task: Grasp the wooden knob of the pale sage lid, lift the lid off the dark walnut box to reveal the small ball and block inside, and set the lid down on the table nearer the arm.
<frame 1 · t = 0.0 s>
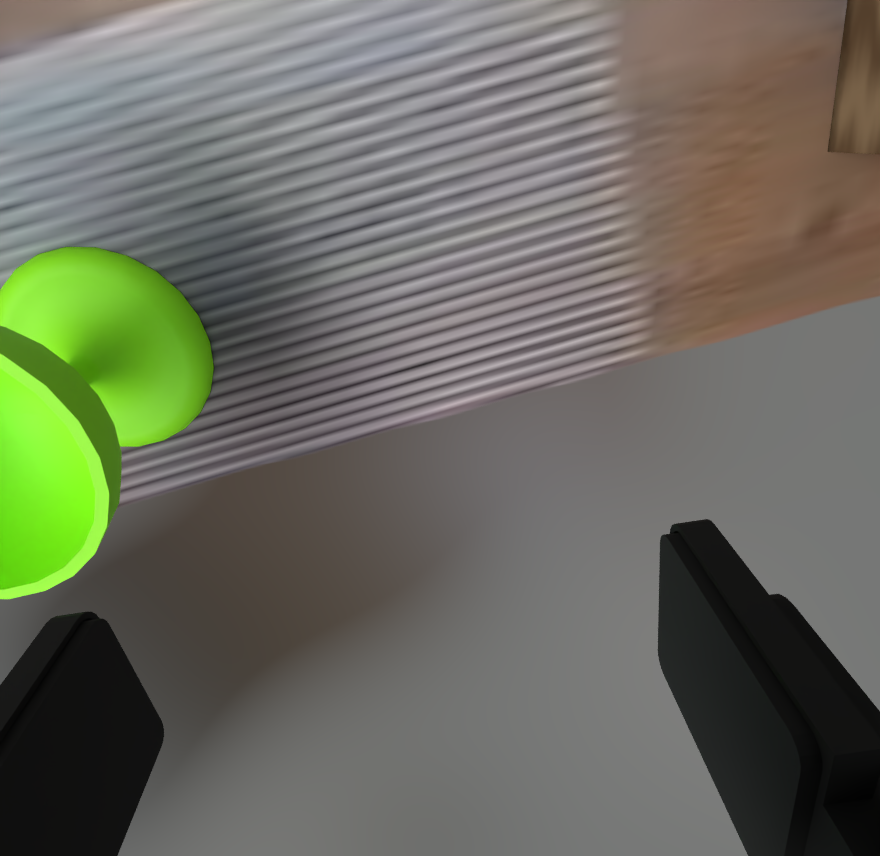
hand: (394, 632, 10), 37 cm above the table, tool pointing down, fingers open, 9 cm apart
wineglass: (107, 353, 46), on the table
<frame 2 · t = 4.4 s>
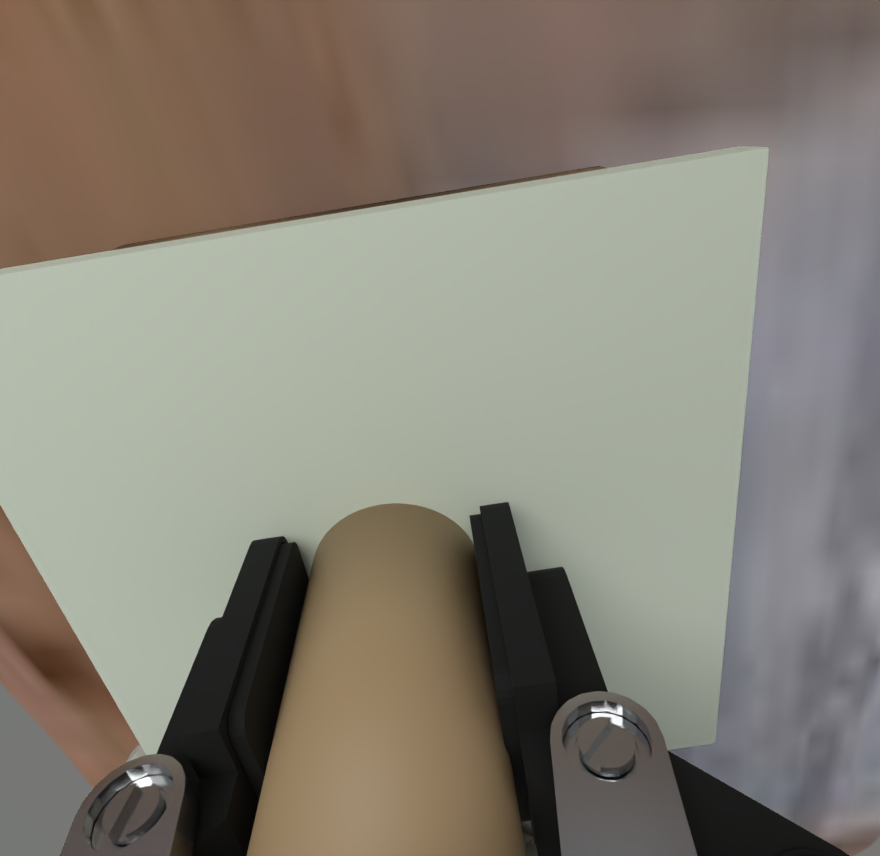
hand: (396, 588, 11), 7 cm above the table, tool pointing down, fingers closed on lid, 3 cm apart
lid: (397, 547, 12), point 6 cm above the table, touching gripper, walnut box
packaged product: (379, 770, 26), on the table
walnut box: (401, 419, 18), on the table
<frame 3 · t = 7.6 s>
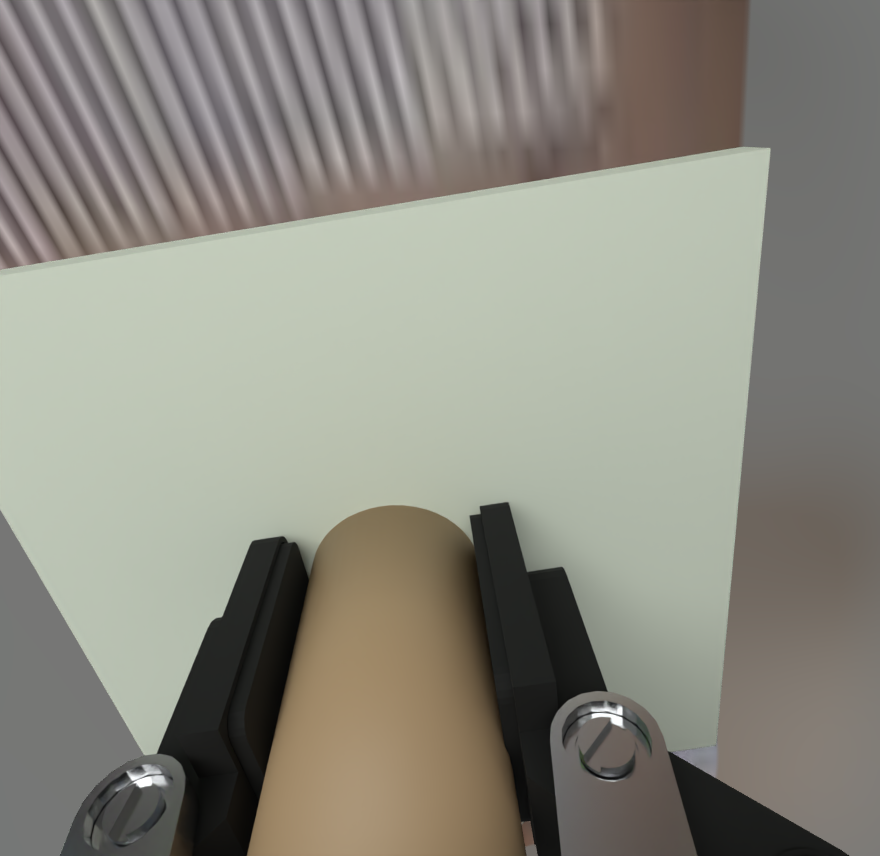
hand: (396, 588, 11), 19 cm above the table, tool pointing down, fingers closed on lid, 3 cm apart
lid: (397, 548, 12), point 18 cm above the table, touching gripper
when the fingers open (3 cm above the table, at t = 11.0 s): lid drops 2 cm, on the table.
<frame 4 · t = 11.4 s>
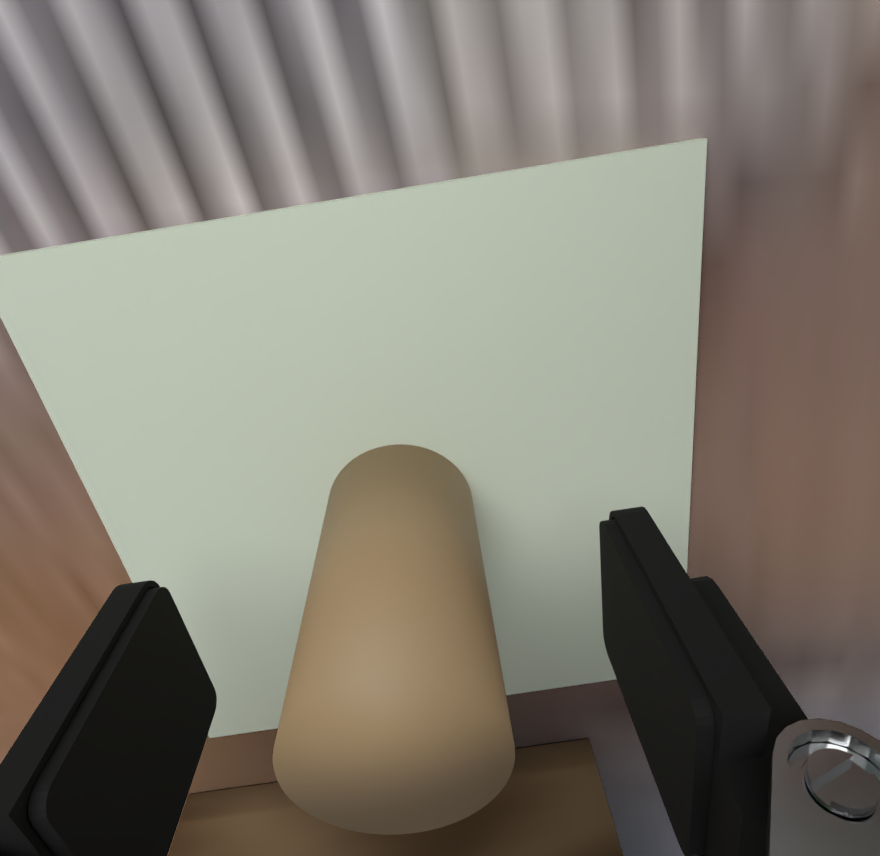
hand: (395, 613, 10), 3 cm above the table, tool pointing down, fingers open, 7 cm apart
lid: (401, 488, 14), on the table
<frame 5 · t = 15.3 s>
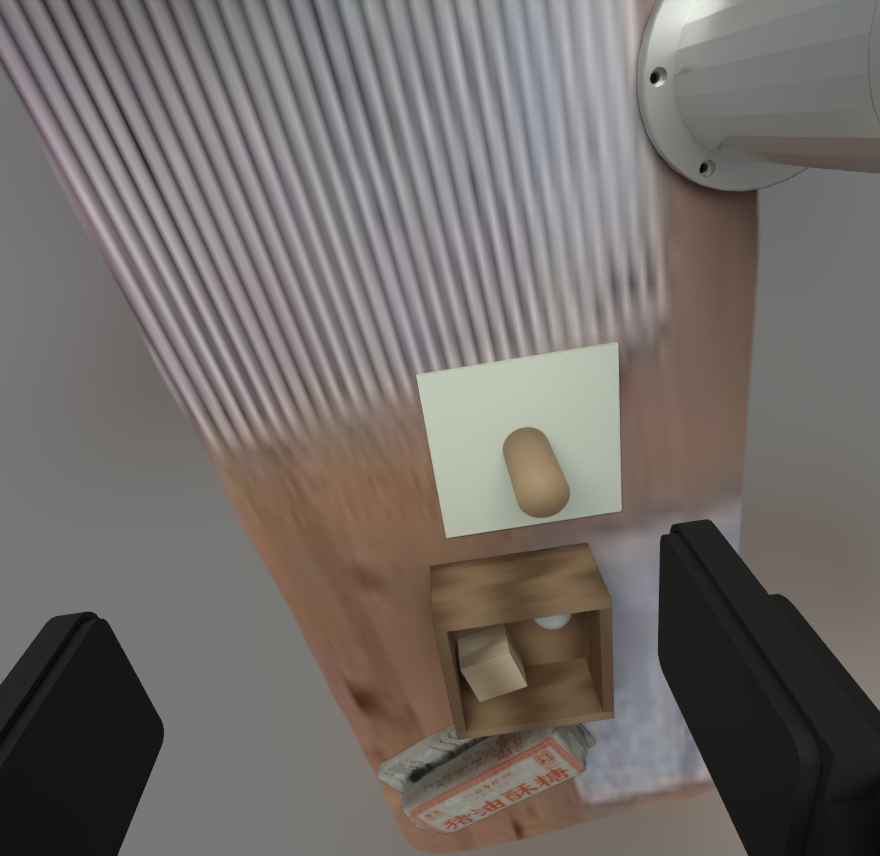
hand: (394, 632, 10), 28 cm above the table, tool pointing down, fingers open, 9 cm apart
lid: (523, 442, 42), on the table
grey ball: (546, 592, 46), point 1 cm above the table, touching walnut box
beech block: (489, 647, 48), point 1 cm above the table, touching walnut box
packaged product: (484, 744, 56), on the table
walnut box: (515, 613, 48), on the table
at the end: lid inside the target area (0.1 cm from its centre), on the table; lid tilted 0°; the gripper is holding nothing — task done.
